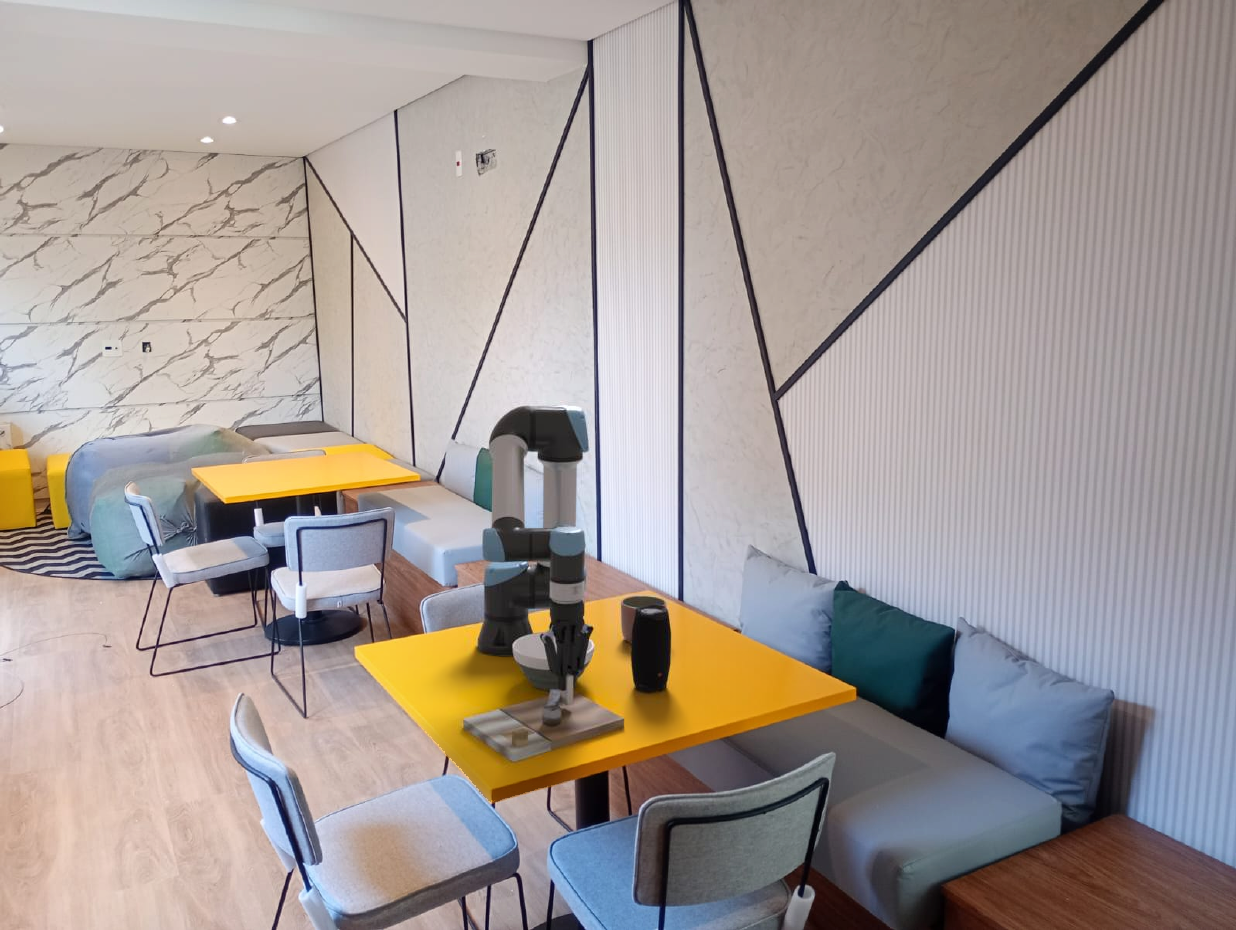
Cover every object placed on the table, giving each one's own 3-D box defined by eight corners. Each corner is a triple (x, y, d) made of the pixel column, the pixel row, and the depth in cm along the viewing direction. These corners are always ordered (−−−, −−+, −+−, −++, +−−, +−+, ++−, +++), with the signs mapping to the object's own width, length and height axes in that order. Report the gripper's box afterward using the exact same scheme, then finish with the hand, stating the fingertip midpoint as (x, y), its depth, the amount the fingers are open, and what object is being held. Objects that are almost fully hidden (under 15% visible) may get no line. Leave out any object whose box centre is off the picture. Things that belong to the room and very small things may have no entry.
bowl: (527, 703, 220) (527, 663, 218) (502, 674, 238) (502, 636, 236) (606, 691, 228) (607, 652, 226) (576, 663, 245) (576, 627, 244)
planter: (673, 638, 266) (674, 600, 264) (651, 651, 255) (651, 611, 254) (635, 630, 272) (636, 592, 270) (611, 642, 262) (612, 603, 260)
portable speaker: (671, 694, 227) (674, 613, 224) (632, 694, 226) (633, 614, 223) (667, 680, 235) (669, 602, 232) (628, 680, 234) (630, 603, 231)
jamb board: (463, 727, 207) (462, 706, 206) (570, 697, 224) (570, 677, 223) (512, 762, 191) (512, 739, 190) (624, 727, 208) (624, 706, 207)
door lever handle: (560, 725, 203) (560, 713, 202) (541, 725, 203) (541, 712, 202) (564, 700, 216) (564, 688, 216) (546, 699, 216) (546, 688, 216)
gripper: (551, 608, 202) (551, 715, 206) (601, 598, 210) (600, 701, 213) (532, 600, 208) (532, 704, 211) (581, 590, 216) (580, 691, 219)
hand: (566, 702), depth 212 cm, fingers closed
